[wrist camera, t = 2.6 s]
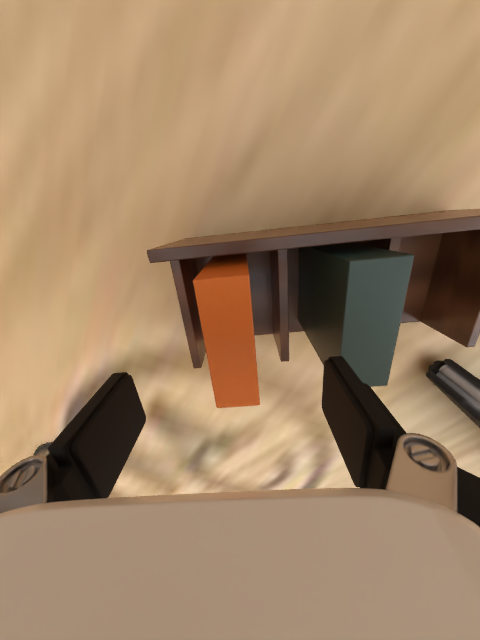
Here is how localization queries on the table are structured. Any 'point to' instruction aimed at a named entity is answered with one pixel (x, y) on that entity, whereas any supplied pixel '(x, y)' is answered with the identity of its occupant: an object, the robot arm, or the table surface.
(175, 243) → the book rack
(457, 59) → the table surface
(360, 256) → the green book
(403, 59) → the table surface
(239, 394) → the orange book
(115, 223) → the table surface
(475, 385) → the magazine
